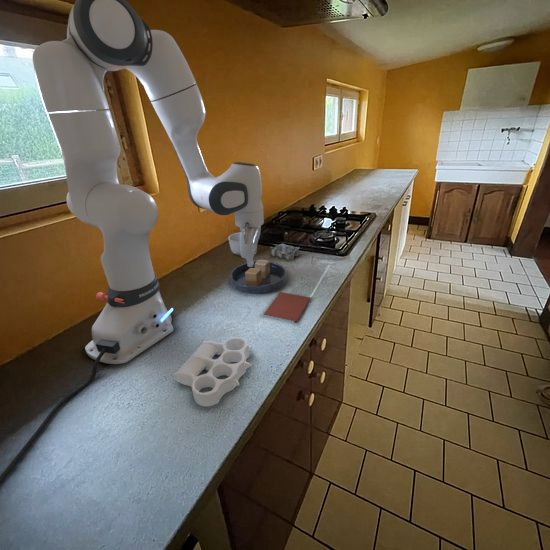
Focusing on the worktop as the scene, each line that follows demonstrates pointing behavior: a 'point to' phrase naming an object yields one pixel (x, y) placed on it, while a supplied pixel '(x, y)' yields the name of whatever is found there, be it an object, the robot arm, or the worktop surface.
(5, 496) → the worktop surface
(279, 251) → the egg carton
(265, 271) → the block
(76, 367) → the worktop surface
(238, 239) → the teacup
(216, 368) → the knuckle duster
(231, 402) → the worktop surface
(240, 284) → the pan
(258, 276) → the block
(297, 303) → the mat
